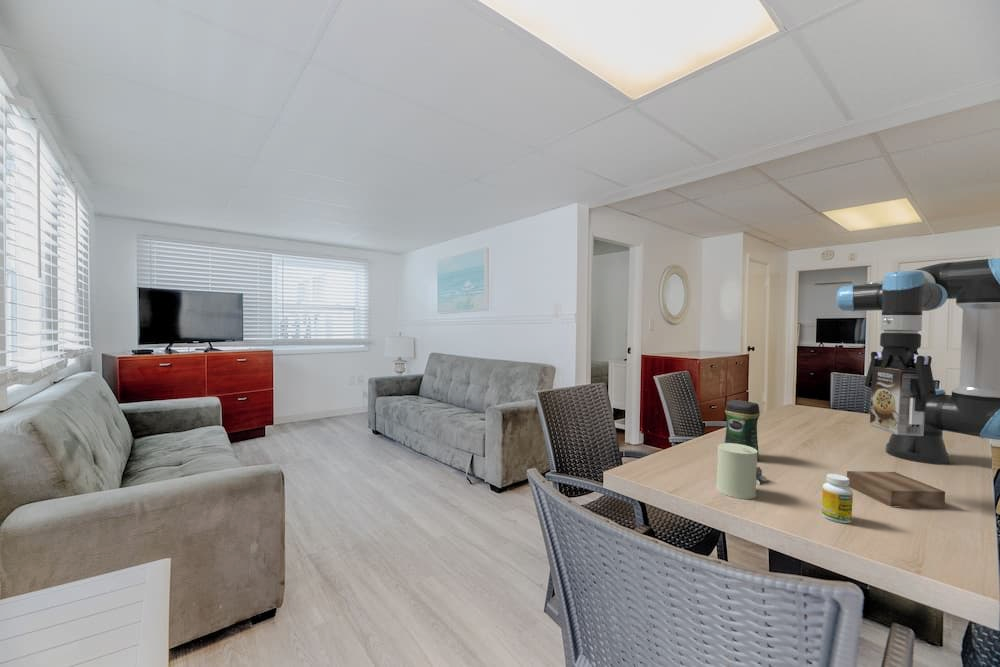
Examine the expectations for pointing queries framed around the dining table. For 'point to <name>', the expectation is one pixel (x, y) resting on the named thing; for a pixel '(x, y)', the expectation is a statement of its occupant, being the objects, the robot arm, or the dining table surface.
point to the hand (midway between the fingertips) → (896, 419)
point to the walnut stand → (896, 489)
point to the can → (736, 470)
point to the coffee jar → (742, 423)
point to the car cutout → (759, 476)
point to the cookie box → (893, 401)
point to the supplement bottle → (837, 499)
